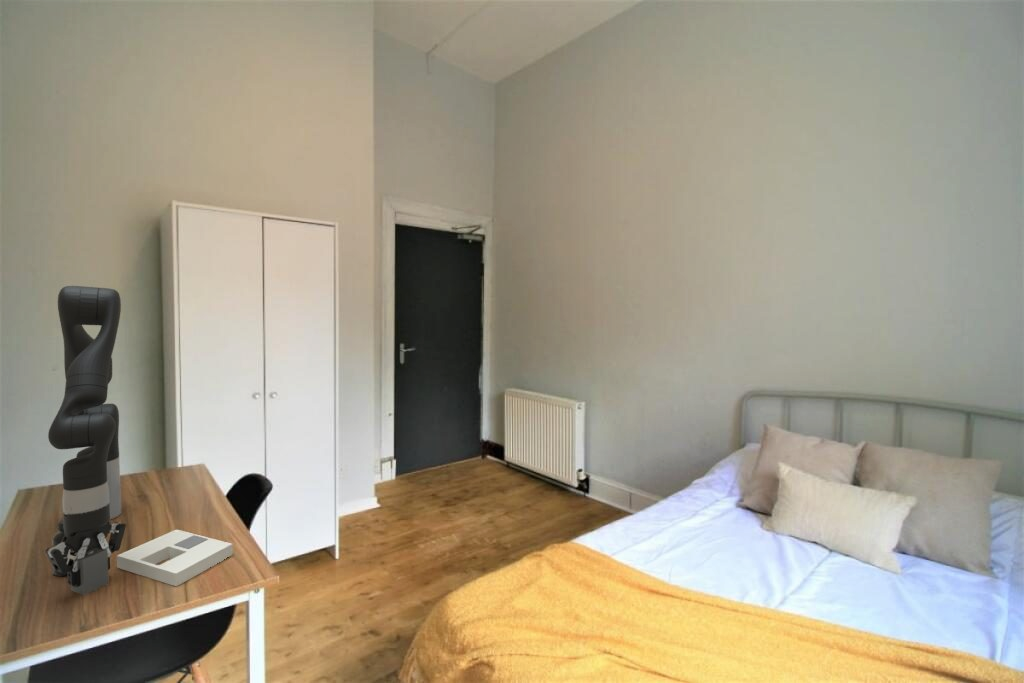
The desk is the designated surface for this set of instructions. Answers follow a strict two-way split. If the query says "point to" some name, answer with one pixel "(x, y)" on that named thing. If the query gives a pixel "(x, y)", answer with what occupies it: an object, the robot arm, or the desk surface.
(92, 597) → the desk surface
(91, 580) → the charger
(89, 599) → the desk surface
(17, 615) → the desk surface
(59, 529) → the supplement bottle
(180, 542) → the outlet plate
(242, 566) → the desk surface
